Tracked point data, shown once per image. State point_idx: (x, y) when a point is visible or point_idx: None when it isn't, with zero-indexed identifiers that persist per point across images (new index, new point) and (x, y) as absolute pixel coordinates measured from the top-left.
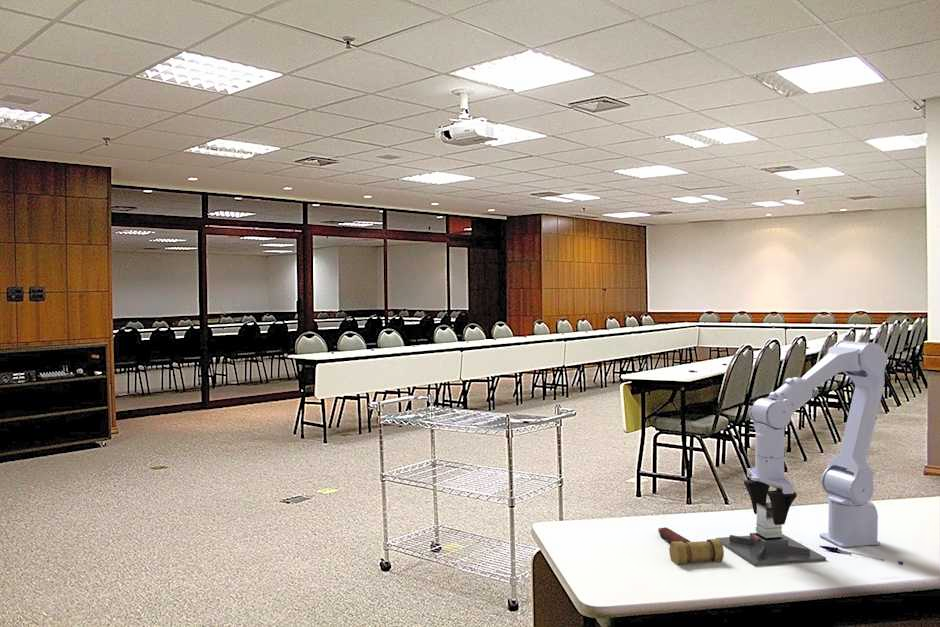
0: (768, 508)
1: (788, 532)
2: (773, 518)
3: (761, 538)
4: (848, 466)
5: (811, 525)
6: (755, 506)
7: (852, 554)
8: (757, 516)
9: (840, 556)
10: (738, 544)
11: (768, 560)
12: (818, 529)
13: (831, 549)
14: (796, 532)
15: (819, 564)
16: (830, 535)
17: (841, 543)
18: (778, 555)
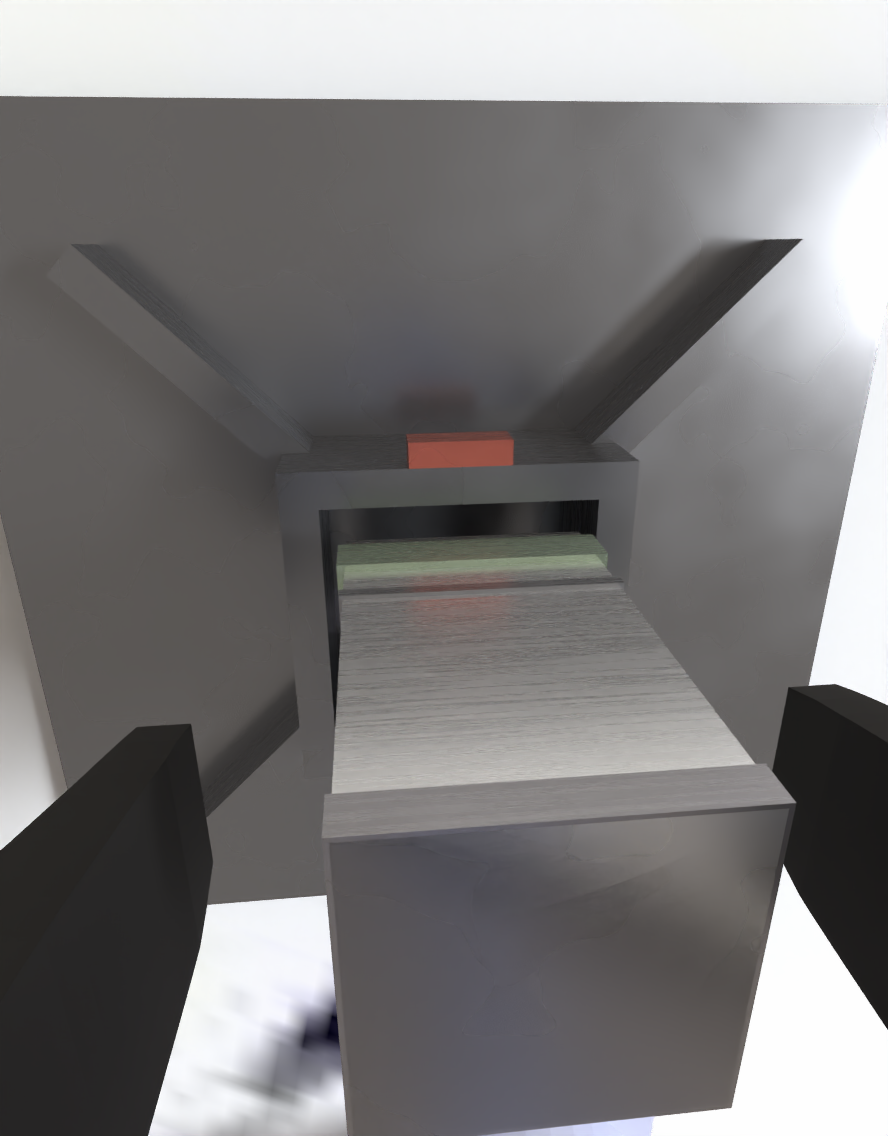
0: (329, 882)
1: (812, 924)
2: (135, 772)
3: (403, 502)
4: None
5: (872, 1107)
6: (882, 771)
7: (240, 1097)
8: (637, 643)
9: (204, 1018)
10: (620, 283)
11: (16, 346)
12: (783, 1112)
13: None
14: (788, 972)
15: (11, 807)
16: (543, 1132)
17: None
18: (187, 547)
